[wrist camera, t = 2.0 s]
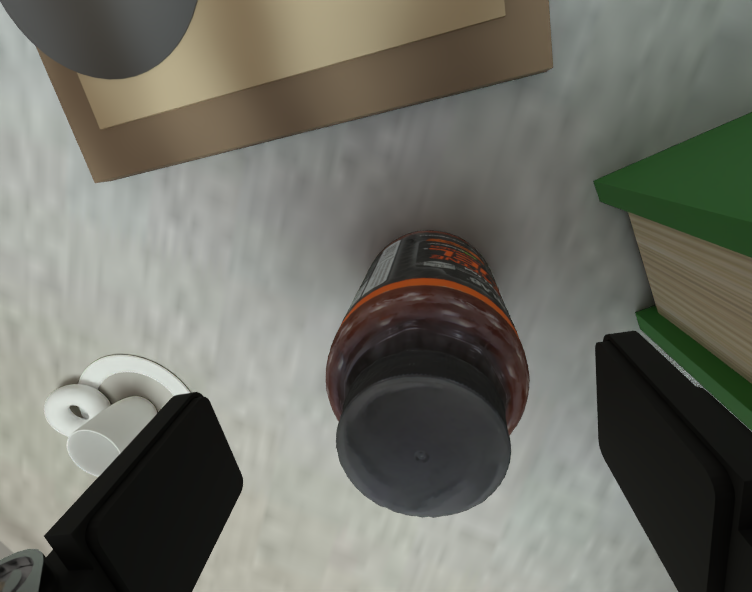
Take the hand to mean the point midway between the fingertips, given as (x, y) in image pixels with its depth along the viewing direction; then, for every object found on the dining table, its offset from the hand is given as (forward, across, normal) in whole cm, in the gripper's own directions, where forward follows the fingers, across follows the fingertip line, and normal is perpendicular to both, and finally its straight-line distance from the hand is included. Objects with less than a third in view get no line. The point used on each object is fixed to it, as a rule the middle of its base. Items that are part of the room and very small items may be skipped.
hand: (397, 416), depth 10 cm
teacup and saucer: (+12, +18, +3) cm, 22 cm away
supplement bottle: (+11, -1, +1) cm, 11 cm away
